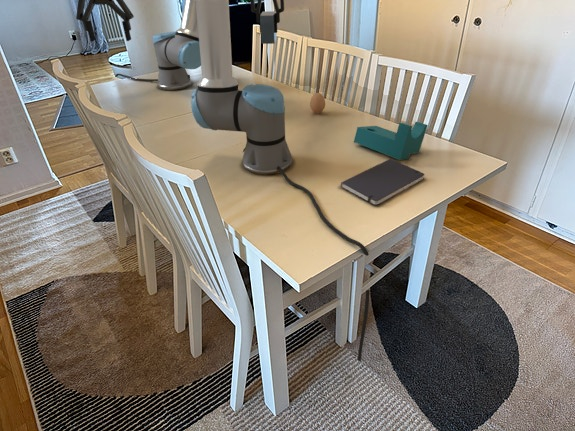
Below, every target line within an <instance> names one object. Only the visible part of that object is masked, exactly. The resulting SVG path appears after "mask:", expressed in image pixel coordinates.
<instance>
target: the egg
mask: <svg viewBox="0 0 575 431" xmlns="http://www.w3.org/2000/svg"><path fill="white" fill-rule="evenodd" d="M309 108H310V110H311V112H312V113H314V114H321V113H322V112H323V111H324V110H325V108H326V98H325V97H324V95H323V94H322V93H320V92H315V93H314V94H313V95H312V96H311V98H310V100H309Z"/></svg>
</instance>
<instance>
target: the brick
mask: <svg viewBox="0 0 575 431" xmlns="http://www.w3.org/2000/svg"><path fill="white" fill-rule="evenodd" d="M260 13H261V15H260V24H259V26H260V25H261V33H260V41H261V45H271V44H272V45H274V44H275V43H276V41H277V36H278V35H277V33H275V22H274V14H275V13H276V11H275V10H274V11H273V10H272V11H270V10H269V11H262V12H260Z"/></svg>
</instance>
